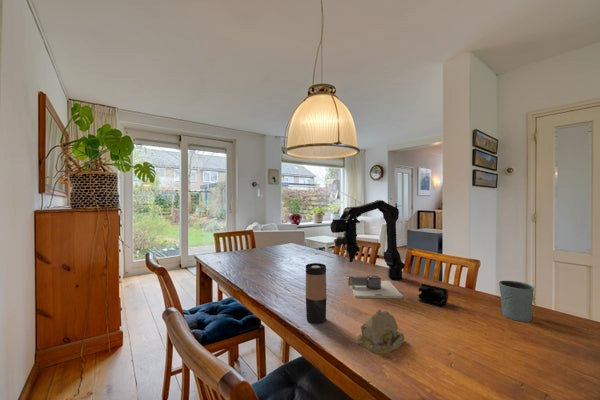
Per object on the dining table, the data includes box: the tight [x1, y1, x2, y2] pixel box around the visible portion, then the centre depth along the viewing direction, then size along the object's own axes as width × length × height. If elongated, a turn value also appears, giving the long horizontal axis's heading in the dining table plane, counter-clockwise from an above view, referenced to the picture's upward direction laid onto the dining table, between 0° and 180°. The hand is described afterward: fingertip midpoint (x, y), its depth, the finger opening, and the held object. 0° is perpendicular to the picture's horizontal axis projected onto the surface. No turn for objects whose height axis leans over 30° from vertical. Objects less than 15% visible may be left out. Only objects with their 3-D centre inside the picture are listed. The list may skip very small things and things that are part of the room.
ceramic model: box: [355, 309, 405, 354], centre depth 81 cm, size 14×11×10 cm
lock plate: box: [350, 280, 404, 299], centre depth 126 cm, size 21×21×1 cm
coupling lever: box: [347, 274, 382, 290], centre depth 126 cm, size 16×7×5 cm, turn 87°
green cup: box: [498, 280, 535, 323], centre depth 97 cm, size 10×10×12 cm
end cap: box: [418, 283, 449, 309], centre depth 111 cm, size 10×7×7 cm
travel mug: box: [305, 262, 327, 325], centre depth 96 cm, size 8×8×20 cm
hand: (350, 262), depth 133 cm, fingers closed
